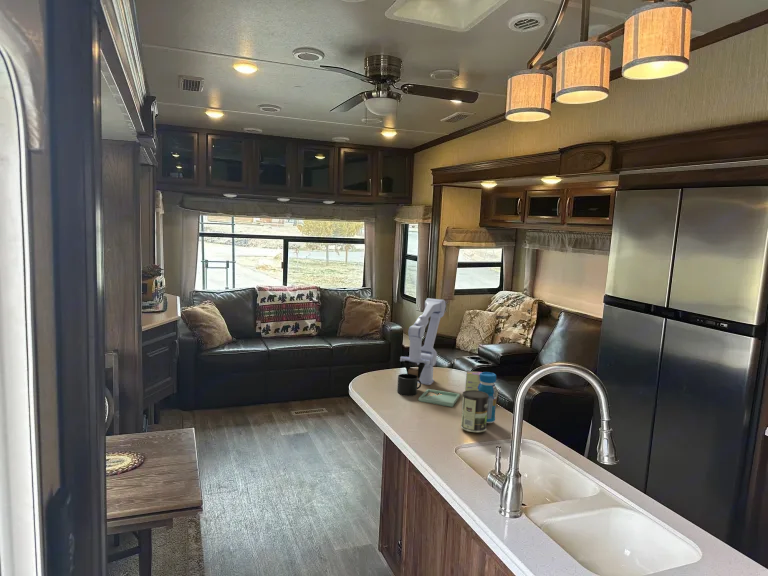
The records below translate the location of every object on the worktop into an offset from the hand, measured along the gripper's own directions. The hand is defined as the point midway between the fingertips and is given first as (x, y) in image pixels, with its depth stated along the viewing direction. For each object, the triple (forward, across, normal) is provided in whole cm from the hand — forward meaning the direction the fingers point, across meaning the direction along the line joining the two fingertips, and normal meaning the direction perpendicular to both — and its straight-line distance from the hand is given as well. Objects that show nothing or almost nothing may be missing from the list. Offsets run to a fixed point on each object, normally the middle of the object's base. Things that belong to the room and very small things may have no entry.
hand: (413, 376), depth 253 cm
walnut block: (+2, 0, 0) cm, 2 cm away
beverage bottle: (+7, +39, -25) cm, 47 cm away
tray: (+7, +15, -7) cm, 18 cm away
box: (+7, +30, +6) cm, 31 cm away
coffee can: (+7, +36, -36) cm, 51 cm away
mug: (+7, 0, -6) cm, 10 cm away
